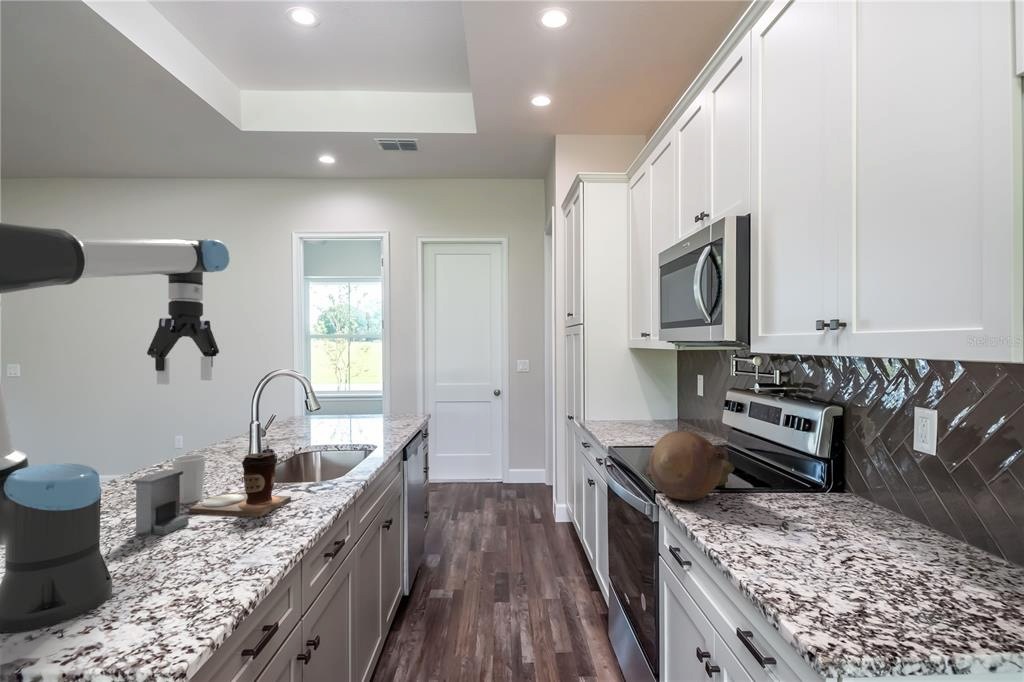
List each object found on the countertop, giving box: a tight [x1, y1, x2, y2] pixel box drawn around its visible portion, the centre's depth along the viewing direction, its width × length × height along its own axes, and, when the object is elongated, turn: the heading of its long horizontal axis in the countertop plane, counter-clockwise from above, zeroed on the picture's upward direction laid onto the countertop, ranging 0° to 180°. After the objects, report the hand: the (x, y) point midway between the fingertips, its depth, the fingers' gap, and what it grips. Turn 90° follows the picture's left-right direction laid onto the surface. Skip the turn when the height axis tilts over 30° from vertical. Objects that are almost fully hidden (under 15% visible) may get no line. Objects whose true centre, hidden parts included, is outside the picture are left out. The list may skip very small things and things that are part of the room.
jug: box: [646, 430, 736, 502], centre depth 140 cm, size 20×20×30 cm
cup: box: [172, 454, 207, 504], centre depth 137 cm, size 8×8×12 cm
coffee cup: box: [241, 451, 278, 505], centre depth 130 cm, size 9×8×13 cm
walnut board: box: [187, 492, 292, 518], centre depth 131 cm, size 13×21×2 cm, turn 81°
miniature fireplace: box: [132, 469, 190, 536], centre depth 116 cm, size 9×8×13 cm
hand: (185, 382), depth 125 cm, fingers open, 13 cm apart
